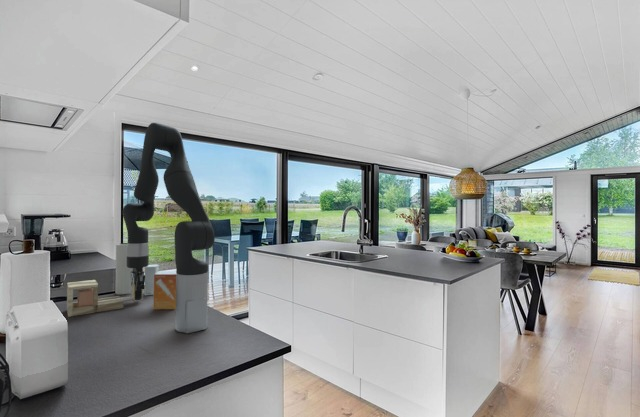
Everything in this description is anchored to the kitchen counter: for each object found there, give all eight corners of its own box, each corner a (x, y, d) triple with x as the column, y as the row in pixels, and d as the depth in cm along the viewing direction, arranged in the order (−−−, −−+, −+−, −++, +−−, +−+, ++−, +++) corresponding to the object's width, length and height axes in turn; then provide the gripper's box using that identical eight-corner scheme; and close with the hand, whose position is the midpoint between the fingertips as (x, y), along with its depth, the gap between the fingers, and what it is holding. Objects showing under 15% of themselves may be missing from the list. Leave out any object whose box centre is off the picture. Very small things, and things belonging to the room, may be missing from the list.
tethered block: (142, 299, 125) (143, 284, 125) (78, 309, 112) (78, 292, 112) (140, 297, 128) (140, 282, 128) (77, 306, 115) (77, 289, 115)
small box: (152, 310, 117) (153, 274, 117) (159, 304, 123) (159, 270, 123) (176, 309, 118) (177, 273, 118) (181, 304, 124) (182, 270, 124)
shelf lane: (123, 307, 119) (123, 281, 119) (68, 316, 108) (68, 287, 108) (119, 302, 126) (119, 277, 126) (66, 310, 115) (67, 282, 115)
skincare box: (155, 295, 137) (155, 266, 137) (144, 295, 136) (144, 267, 136) (158, 291, 142) (159, 264, 142) (148, 291, 141) (148, 264, 141)
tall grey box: (111, 293, 137) (112, 243, 137) (125, 290, 143) (126, 242, 143) (123, 296, 134) (124, 244, 134) (136, 292, 140) (137, 243, 140)
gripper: (153, 255, 123) (152, 301, 123) (144, 251, 133) (143, 293, 133) (130, 257, 118) (129, 304, 118) (123, 253, 128) (122, 296, 128)
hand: (137, 298), depth 126 cm, fingers closed on tethered block, 3 cm apart
